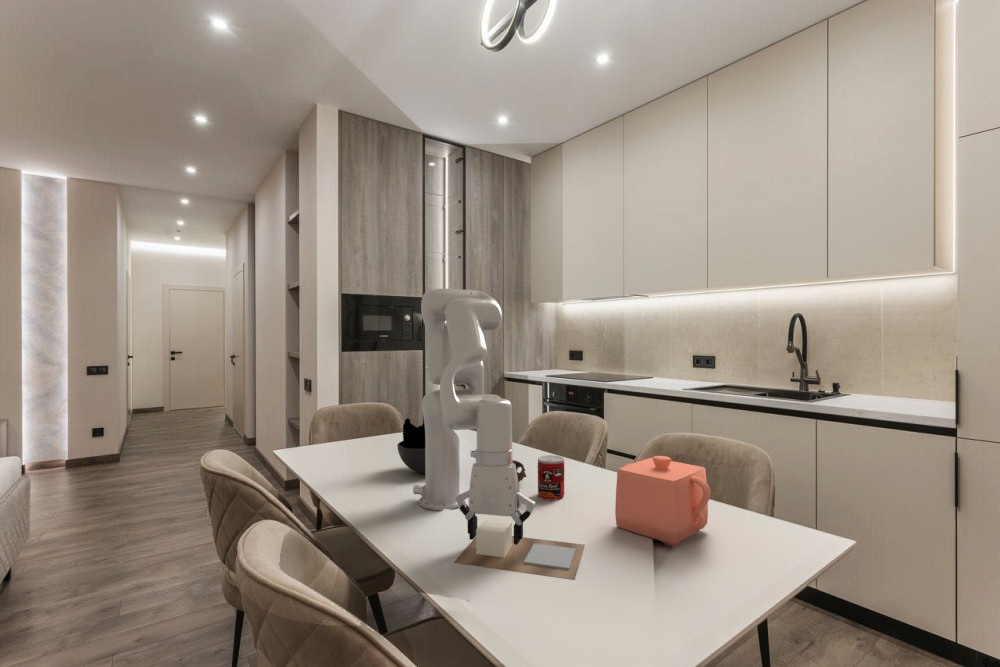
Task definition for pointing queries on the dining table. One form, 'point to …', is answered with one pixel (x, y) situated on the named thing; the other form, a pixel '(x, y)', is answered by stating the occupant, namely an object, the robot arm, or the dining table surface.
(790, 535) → the dining table surface
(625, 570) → the dining table surface
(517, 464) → the pottery mug
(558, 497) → the canned food
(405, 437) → the coal bowl
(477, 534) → the cream cube
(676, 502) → the teapot
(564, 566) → the pad
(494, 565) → the base board
